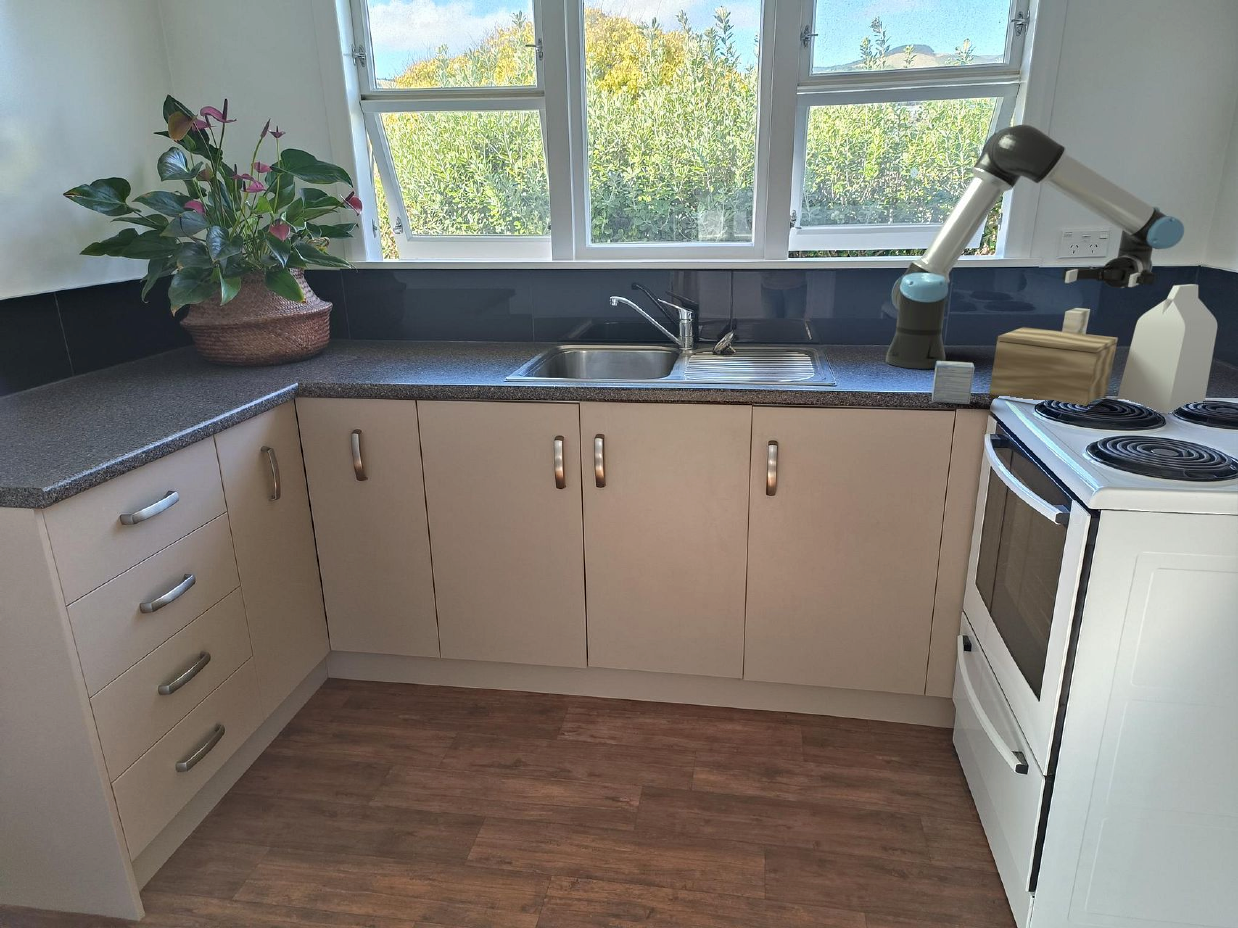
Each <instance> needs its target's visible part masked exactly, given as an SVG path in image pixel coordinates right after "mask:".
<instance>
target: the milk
mask: <svg viewBox="0 0 1238 928" xmlns="http://www.w3.org/2000/svg"><path fill="white" fill-rule="evenodd" d="M1217 331H1218V322H1217V319H1216V317H1215V316H1214V315H1213V313H1212V312H1211V311H1210V310H1209V309H1208V308H1207V306H1206V305H1205V304H1204V303H1203V301H1202V300H1201V299H1200V298H1199V284H1194V283H1193V284H1192V283H1191V284H1190V283H1189V284H1177V285H1173V286H1172V288H1171V289H1170V291H1169V293H1168V296H1167V298H1166V299H1165V300H1163V301H1161V302H1160V303H1158V304H1157V305H1156V306H1154V307H1152V308H1151V309H1149V310H1148V311H1146V312H1145V313H1143V314H1142V315H1141V316H1140V317H1139V318H1138V319H1137V322H1136V325H1135V327H1134V332H1133V336H1132V340H1131V344H1130V347H1129V350H1128V351H1129V352H1128V355H1127V359H1126V364H1125V367H1124V370H1123V374H1122V379H1121V381H1120V385H1119V390H1118V392H1117V397H1116V400H1117V399H1125V400H1129V401H1131V402H1135V403H1138V404H1141V405H1143V406H1145V407H1149V408H1151V409H1153V410H1156V411H1157V412H1156V413H1159V412H1162V413H1161V414H1163V413H1165V414H1164V415H1169V414H1168V413H1170V412H1173V411H1174V410H1176V409H1178V408H1179V407H1182V406H1184V405H1186V404H1190V403H1194V402H1203V401H1205V400H1206V396H1207V395H1206V394H1207V391H1208V390H1207V389H1208V384H1209V378H1210V372H1211V367H1212V360H1213V355H1214V348H1215V344H1216V337H1217Z"/></svg>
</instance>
